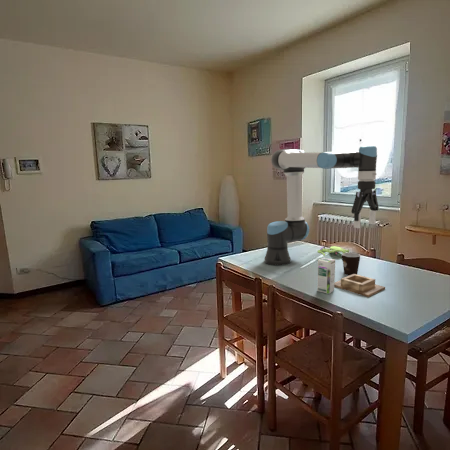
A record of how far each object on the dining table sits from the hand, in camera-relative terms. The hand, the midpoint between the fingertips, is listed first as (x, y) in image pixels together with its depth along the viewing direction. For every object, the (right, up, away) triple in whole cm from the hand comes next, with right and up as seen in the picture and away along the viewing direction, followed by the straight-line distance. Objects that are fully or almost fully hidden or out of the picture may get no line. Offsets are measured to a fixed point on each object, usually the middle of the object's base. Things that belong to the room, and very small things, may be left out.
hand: (364, 225), depth 155 cm
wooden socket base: (-6, -28, -5) cm, 29 cm away
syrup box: (-21, -29, -8) cm, 37 cm away
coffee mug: (-1, -24, +15) cm, 29 cm away
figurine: (+2, -19, +48) cm, 52 cm away
